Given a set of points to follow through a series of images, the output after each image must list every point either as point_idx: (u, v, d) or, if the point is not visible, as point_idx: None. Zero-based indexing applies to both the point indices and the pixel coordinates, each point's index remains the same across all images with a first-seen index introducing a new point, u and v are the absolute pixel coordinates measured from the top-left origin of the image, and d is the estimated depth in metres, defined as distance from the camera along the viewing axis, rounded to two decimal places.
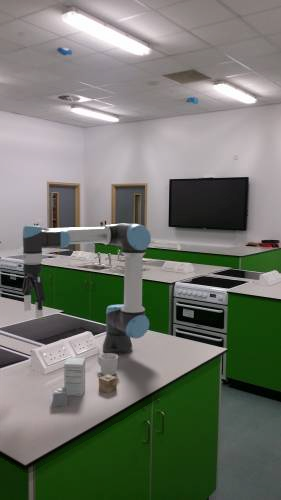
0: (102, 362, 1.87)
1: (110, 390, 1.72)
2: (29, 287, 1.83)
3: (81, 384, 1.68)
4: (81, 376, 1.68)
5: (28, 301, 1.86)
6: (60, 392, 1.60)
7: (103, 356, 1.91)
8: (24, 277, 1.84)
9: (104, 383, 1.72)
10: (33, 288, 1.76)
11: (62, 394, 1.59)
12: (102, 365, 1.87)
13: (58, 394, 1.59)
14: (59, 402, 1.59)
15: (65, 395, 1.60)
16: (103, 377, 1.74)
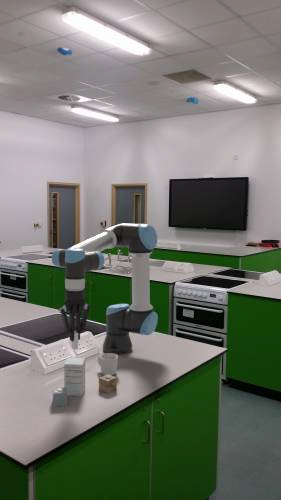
0: (102, 362, 1.87)
1: (110, 390, 1.72)
2: (76, 319, 1.69)
3: (81, 384, 1.68)
4: (81, 376, 1.68)
5: None
6: (60, 392, 1.60)
7: (103, 356, 1.91)
8: None
9: (104, 383, 1.72)
10: None
11: (62, 394, 1.59)
12: (102, 365, 1.87)
13: (58, 394, 1.59)
14: (59, 402, 1.59)
15: (65, 395, 1.60)
16: (103, 377, 1.74)
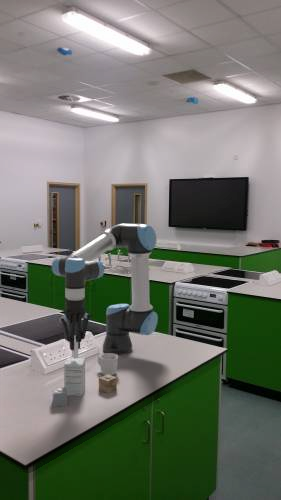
0: (102, 362, 1.87)
1: (110, 390, 1.72)
2: (76, 328, 1.69)
3: (81, 384, 1.68)
4: (81, 376, 1.68)
5: None
6: (60, 392, 1.60)
7: (103, 356, 1.91)
8: None
9: (104, 383, 1.72)
10: None
11: (62, 394, 1.59)
12: (102, 365, 1.87)
13: (58, 394, 1.59)
14: (59, 402, 1.59)
15: (65, 395, 1.60)
16: (103, 377, 1.74)
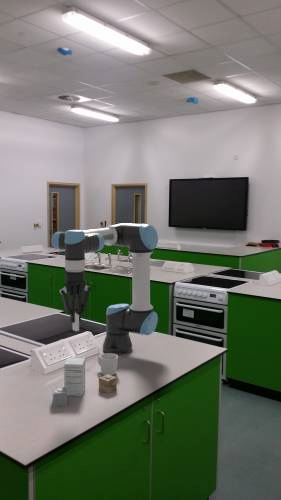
0: (102, 362, 1.87)
1: (110, 390, 1.72)
2: (77, 300, 1.69)
3: (81, 384, 1.68)
4: (81, 376, 1.68)
5: None
6: (60, 392, 1.60)
7: (103, 356, 1.92)
8: None
9: (104, 383, 1.72)
10: None
11: (62, 394, 1.59)
12: (102, 365, 1.87)
13: (58, 394, 1.59)
14: (59, 402, 1.59)
15: (65, 395, 1.60)
16: (103, 377, 1.74)
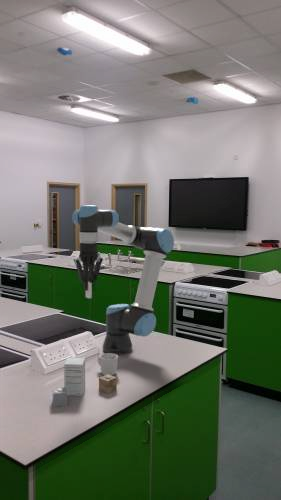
0: (102, 362, 1.87)
1: (110, 390, 1.72)
2: (90, 270, 1.84)
3: (81, 384, 1.68)
4: (81, 376, 1.68)
5: None
6: (60, 392, 1.60)
7: (103, 356, 1.91)
8: None
9: (104, 383, 1.72)
10: None
11: (62, 394, 1.59)
12: (102, 365, 1.87)
13: (58, 394, 1.59)
14: (59, 402, 1.59)
15: (65, 395, 1.60)
16: (103, 377, 1.74)
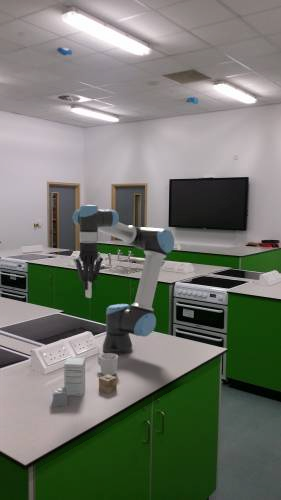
0: (102, 362, 1.87)
1: (110, 390, 1.72)
2: (90, 269, 1.84)
3: (81, 384, 1.68)
4: (81, 376, 1.68)
5: None
6: (60, 392, 1.60)
7: (103, 356, 1.91)
8: None
9: (104, 383, 1.72)
10: None
11: (62, 394, 1.59)
12: (102, 365, 1.87)
13: (58, 394, 1.59)
14: (59, 402, 1.59)
15: (65, 395, 1.60)
16: (103, 377, 1.74)
